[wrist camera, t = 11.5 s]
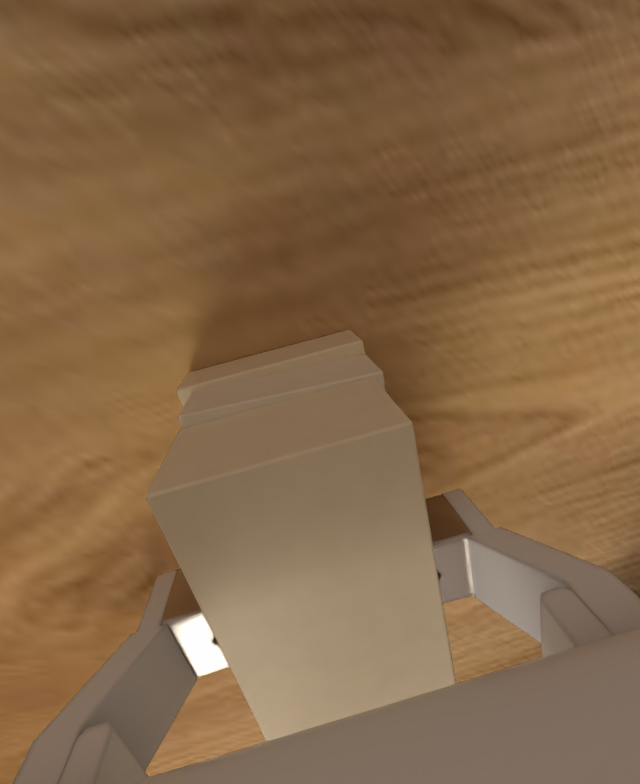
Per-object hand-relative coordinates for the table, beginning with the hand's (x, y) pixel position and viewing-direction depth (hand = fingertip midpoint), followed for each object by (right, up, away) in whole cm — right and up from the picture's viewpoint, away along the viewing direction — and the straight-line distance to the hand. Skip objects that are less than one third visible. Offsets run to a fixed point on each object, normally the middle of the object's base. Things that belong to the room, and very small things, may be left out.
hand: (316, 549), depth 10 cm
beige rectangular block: (0, 0, +1) cm, 1 cm away
